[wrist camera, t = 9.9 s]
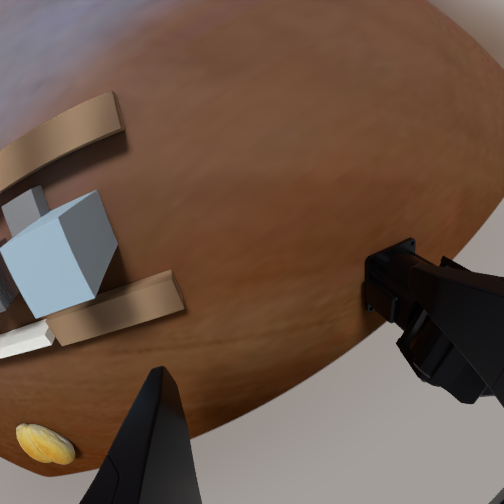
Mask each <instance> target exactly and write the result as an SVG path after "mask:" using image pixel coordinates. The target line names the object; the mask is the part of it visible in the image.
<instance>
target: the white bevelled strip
mask: <svg viewBox="0 0 504 504" xmlns="http://www.w3.org/2000/svg"><path fill="white" fill-rule="evenodd" d="M45 321H46V319H44V320H41V321H38V322H35V323H32V324H29V325H26V326H23V327H20V328H18V329H15V330H12V331H9V332H6V333H3V334H0V359H1V358H5V357H9V356H13V355H16V354H20V353H24V352H28V351H31V350H35V349H39V348H42V347H46V346H49V345H52V343H53V341H54V339H55V336H54V334H53V333H52V331H51V330H50V328H49V327H48V325H47V324H46V322H45Z"/></svg>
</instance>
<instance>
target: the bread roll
mask: <svg viewBox="0 0 504 504" xmlns="http://www.w3.org/2000/svg"><path fill="white" fill-rule="evenodd" d="M16 434H17V439H18V441H19V443H20V445H21V447H22V448H23V450H24V451H25V452H26V453H27V454H28V455H29V456H31V457H32V458H34V459H35V460H37V461H40V462H43V463H50V462H55V463H58V464H63V465H64V464H68V463H71V462H72V461H73V460H74V457H75V451H74V448H73V445H72V444H71V443H70V441H68V440H67V439H66V438H65V437H63V436H62V435H60V434H58V433H56V432H54V431H52V430H50V429H48V428H46V427H43V426H41V425H36V424H29V425H28V424H25V423H24V424H21V425H19V426H18V427H17V429H16Z"/></svg>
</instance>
